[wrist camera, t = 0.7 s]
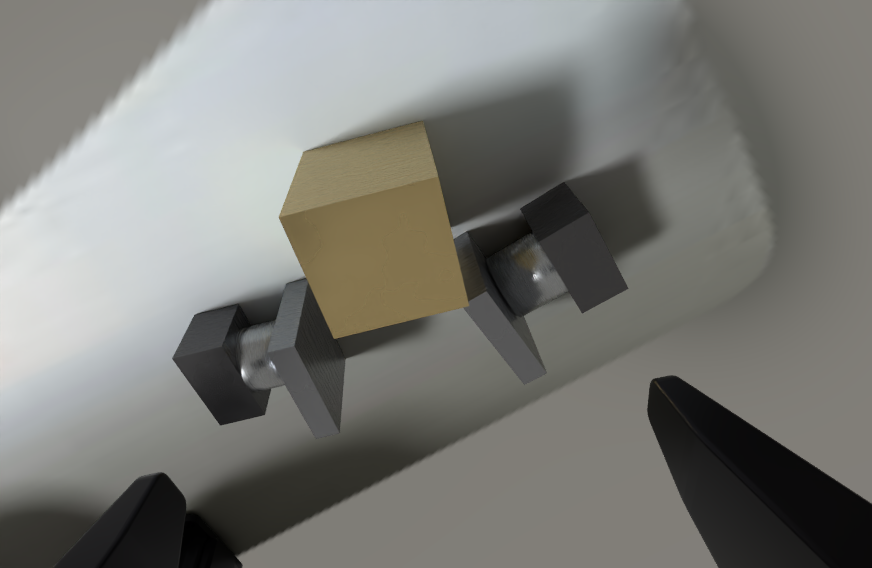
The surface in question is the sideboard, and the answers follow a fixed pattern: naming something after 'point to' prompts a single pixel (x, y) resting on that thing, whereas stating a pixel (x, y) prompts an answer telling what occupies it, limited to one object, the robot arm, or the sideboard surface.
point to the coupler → (374, 231)
